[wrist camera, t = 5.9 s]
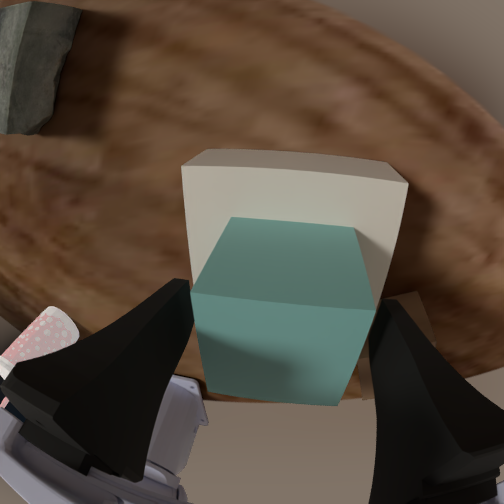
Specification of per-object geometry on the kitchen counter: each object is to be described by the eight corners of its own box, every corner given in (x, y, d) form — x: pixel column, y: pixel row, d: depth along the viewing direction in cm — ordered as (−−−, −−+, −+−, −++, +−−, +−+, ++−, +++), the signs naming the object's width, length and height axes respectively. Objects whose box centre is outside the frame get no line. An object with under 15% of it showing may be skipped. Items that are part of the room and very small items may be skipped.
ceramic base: (357, 304, 18) (363, 345, 15) (216, 291, 19) (200, 329, 16) (386, 162, 13) (408, 183, 10) (207, 148, 14) (181, 166, 11)
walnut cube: (416, 336, 18) (429, 385, 15) (357, 349, 20) (362, 400, 16) (416, 289, 17) (436, 341, 13) (350, 304, 18) (356, 359, 14)
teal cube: (334, 319, 14) (337, 406, 10) (234, 309, 15) (207, 391, 10) (353, 227, 11) (375, 310, 7) (231, 216, 12) (190, 292, 8)
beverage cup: (70, 348, 28) (10, 441, 16) (34, 308, 25) (-36, 397, 13) (94, 339, 25) (25, 451, 13) (53, 293, 23) (-32, 400, 11)
